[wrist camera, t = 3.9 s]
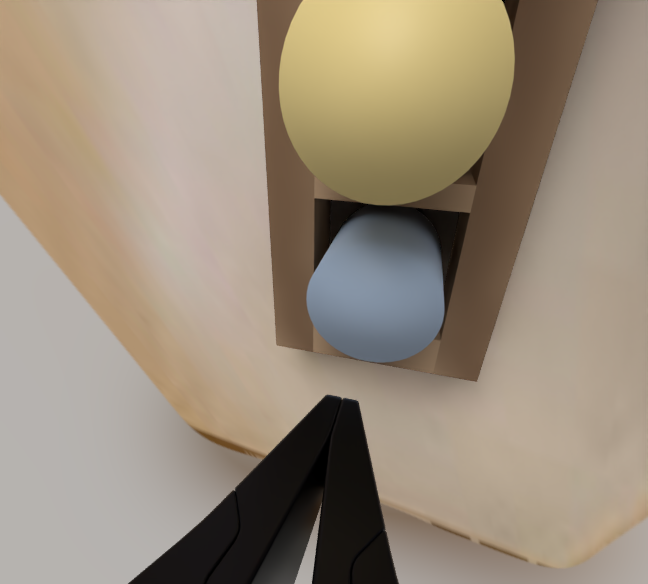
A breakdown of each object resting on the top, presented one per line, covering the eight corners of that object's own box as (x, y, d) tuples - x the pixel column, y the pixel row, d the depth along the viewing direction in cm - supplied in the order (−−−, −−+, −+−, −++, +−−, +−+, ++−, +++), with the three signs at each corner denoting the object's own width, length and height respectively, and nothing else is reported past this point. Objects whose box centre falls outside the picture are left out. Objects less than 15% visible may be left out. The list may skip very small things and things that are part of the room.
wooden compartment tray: (733, -577, 8) (884, -903, 5) (470, 342, 20) (476, 381, 17) (275, -450, 10) (220, -638, 7) (294, 314, 22) (276, 345, 19)
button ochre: (503, -12, 10) (551, -71, 6) (464, 170, 13) (480, 214, 9) (331, -8, 11) (273, -57, 7) (327, 160, 14) (282, 195, 10)
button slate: (451, 207, 16) (457, 254, 12) (431, 305, 18) (431, 372, 14) (337, 197, 17) (306, 236, 13) (333, 291, 19) (306, 350, 15)
